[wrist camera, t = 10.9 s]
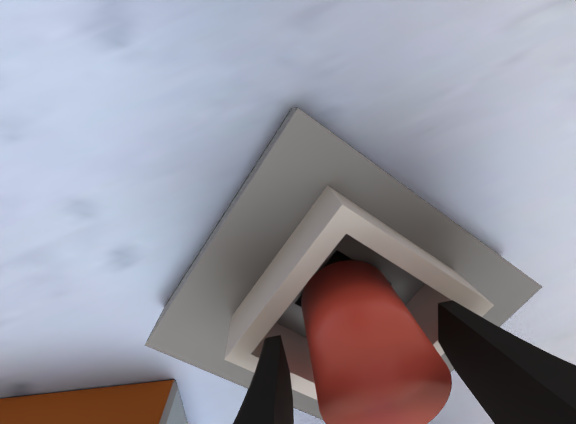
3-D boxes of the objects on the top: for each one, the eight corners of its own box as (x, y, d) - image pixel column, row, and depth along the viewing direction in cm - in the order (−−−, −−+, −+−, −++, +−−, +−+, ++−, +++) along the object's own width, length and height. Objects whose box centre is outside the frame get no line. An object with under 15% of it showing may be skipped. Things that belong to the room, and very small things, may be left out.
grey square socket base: (499, 259, 18) (596, 322, 13) (361, 398, 22) (393, 494, 16) (292, 108, 14) (306, 107, 9) (164, 307, 18) (119, 393, 12)
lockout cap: (408, 287, 14) (479, 377, 9) (352, 348, 15) (391, 456, 10) (338, 243, 13) (377, 321, 8) (283, 312, 14) (291, 414, 9)
